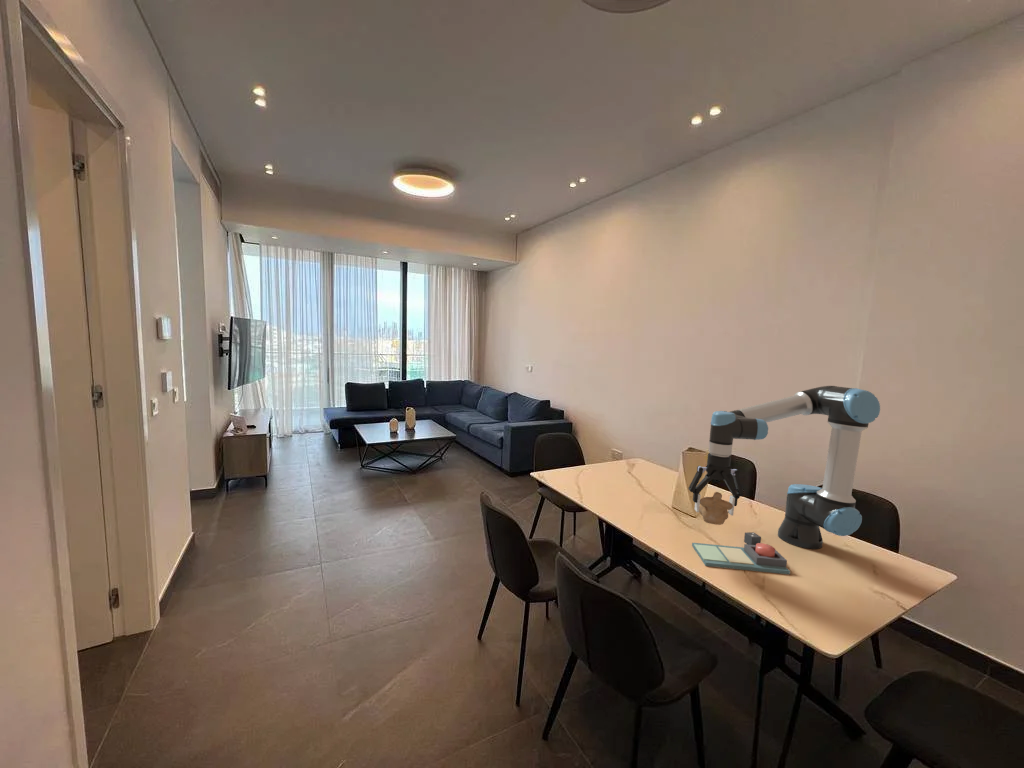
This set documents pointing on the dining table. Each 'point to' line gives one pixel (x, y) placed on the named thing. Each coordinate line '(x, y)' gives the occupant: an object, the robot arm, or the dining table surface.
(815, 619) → the dining table surface
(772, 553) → the dome button
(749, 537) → the die
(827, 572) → the dining table surface
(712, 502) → the figurine
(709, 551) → the board
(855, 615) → the dining table surface
